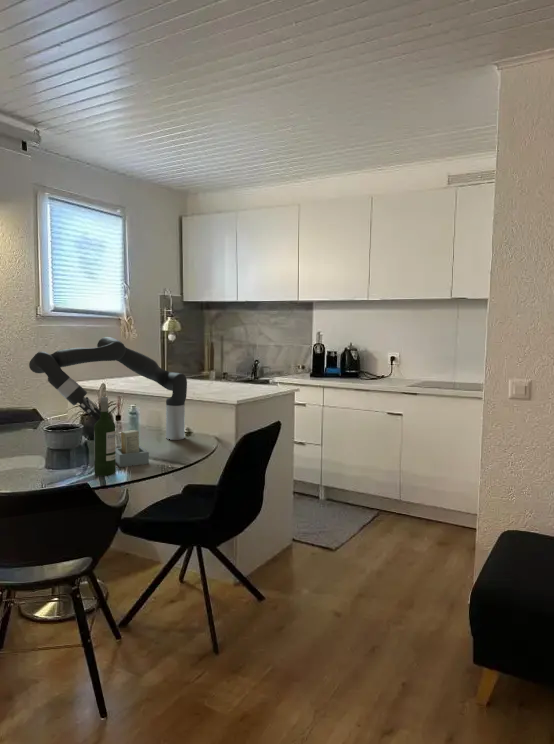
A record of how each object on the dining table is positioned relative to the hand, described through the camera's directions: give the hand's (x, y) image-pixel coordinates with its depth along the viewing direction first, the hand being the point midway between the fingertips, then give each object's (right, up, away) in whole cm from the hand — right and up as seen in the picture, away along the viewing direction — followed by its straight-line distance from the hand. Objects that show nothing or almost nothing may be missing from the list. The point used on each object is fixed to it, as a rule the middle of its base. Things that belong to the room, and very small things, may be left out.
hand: (101, 418), depth 223 cm
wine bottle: (+5, -21, -12) cm, 24 cm away
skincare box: (+10, -18, +5) cm, 21 cm away
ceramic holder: (+11, -19, +5) cm, 22 cm away
